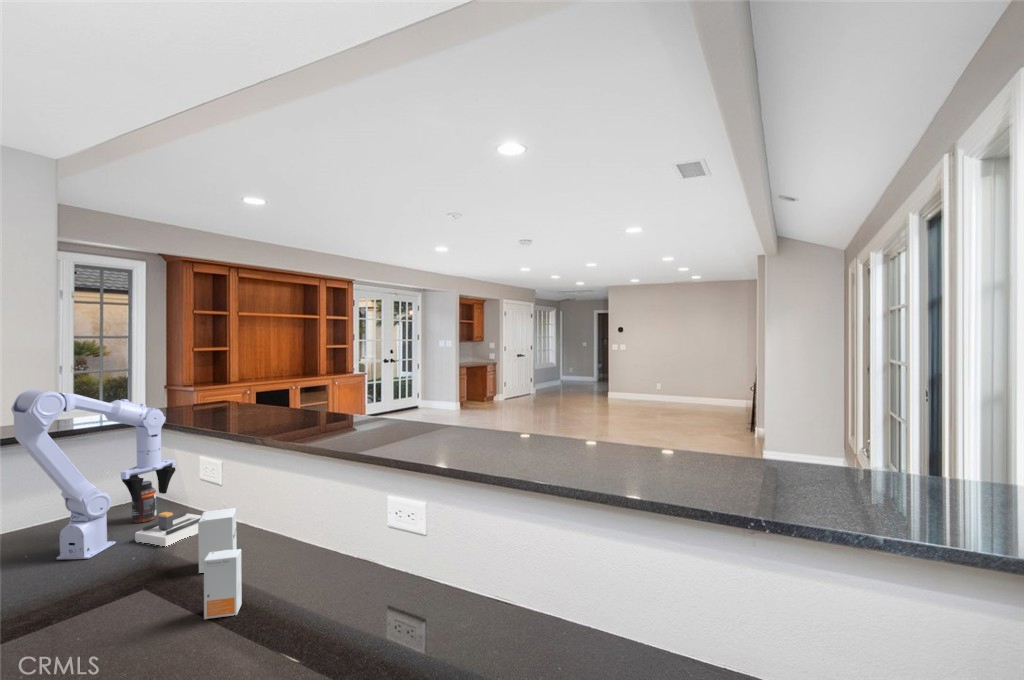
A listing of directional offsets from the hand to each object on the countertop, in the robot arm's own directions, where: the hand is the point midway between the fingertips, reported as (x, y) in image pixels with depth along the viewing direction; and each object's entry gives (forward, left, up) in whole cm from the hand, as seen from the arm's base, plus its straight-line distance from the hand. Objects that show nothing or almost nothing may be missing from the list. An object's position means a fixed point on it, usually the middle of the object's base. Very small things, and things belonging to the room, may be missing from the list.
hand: (150, 497), depth 146 cm
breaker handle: (-6, -8, -7) cm, 12 cm away
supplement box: (-23, -31, -10) cm, 40 cm away
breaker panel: (-3, -9, -9) cm, 13 cm away
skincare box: (-44, -43, -10) cm, 62 cm away
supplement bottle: (+8, +7, -10) cm, 14 cm away
